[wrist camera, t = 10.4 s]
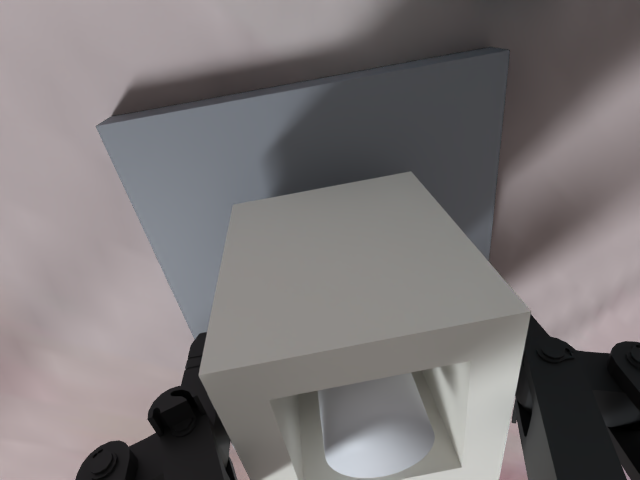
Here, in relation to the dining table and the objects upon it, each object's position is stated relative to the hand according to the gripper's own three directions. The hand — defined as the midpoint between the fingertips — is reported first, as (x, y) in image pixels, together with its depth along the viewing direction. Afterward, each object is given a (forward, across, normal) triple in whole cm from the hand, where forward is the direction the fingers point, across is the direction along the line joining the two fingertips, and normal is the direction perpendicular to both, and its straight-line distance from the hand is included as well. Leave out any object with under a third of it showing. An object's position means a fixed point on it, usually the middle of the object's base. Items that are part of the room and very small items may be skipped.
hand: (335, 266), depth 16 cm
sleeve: (0, 0, 0) cm, 0 cm away
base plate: (+4, 0, -6) cm, 7 cm away
